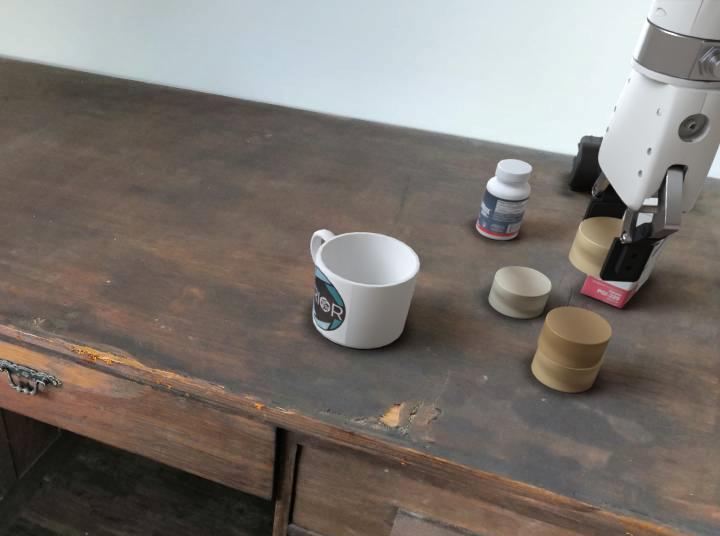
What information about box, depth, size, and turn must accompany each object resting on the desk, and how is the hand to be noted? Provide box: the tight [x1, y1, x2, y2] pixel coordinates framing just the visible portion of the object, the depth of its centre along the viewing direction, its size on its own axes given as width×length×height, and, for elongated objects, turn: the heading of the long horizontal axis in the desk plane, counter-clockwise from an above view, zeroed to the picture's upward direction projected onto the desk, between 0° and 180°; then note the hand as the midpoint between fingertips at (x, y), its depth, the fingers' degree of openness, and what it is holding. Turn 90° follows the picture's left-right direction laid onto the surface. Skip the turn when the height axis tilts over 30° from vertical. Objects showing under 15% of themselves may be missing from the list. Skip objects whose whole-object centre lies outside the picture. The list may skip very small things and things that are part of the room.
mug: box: [309, 228, 421, 350], centre depth 83 cm, size 13×10×8 cm
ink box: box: [580, 198, 670, 309], centre depth 86 cm, size 9×5×12 cm, turn 137°
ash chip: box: [488, 265, 553, 320], centre depth 86 cm, size 6×6×3 cm
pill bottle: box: [475, 158, 533, 241], centre depth 96 cm, size 5×5×9 cm
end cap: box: [567, 134, 604, 193], centre depth 105 cm, size 10×7×7 cm
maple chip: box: [568, 217, 638, 279], centre depth 69 cm, size 6×6×3 cm
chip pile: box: [530, 306, 613, 394], centre depth 76 cm, size 6×6×6 cm
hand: (606, 257), depth 69 cm, fingers closed on maple chip, 6 cm apart
